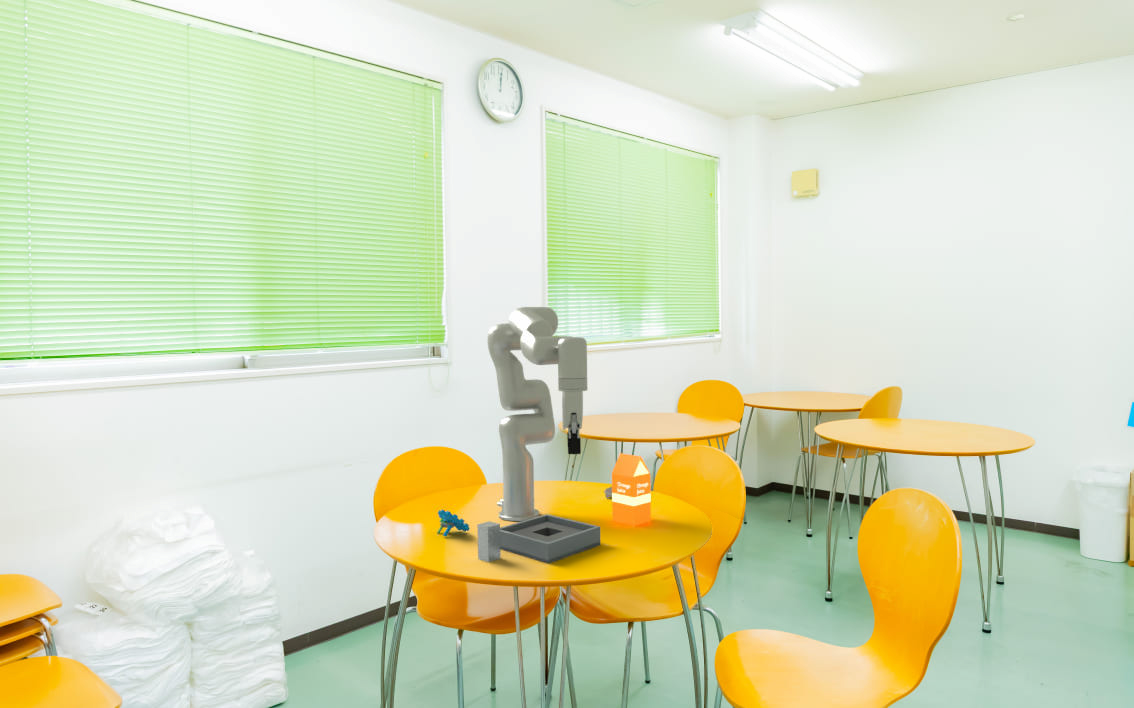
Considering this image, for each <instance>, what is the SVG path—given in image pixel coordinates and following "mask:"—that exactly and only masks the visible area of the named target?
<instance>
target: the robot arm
mask: <svg viewBox="0 0 1134 708" xmlns="http://www.w3.org/2000/svg"><path fill="white" fill-rule="evenodd" d="M558 327H559V318H558V315H557V313H556V311H555V310H554V309H553V308H551V307H548V306H521V307H519V308H516V309H514V310H513V311H512V312H511V313H510V315H509V318H508V322H507V323H500V324H496V325H493V326H492V327H491V328H490V329H489V331H488V332H487V348H488V352H489V355H490V357H491V360H492V362H493V365H494V368H495V373H496V380H497V381H496V382H497V387H498V394H499V395H498V397H499V402H500V405H501V408H502V409H503V410H504V411H508V412H509V411H511V412H517V411H519V412H520V411H530V410H532V411H533V412H534V413H520V414H519V413H518V414H510V415H506V416H505V417H504V418H502V419H501V420H500V422H499V425H498V434H499V439H500V444H501V451H502V452H501V453H502V483H503V485H502V486H503V487H502V488H503V489H502V490H503V491H502V492H503V498H501V499H500V500H499V501H497V502H496V505H497V507H501V510H500V511H499V512H498V517H499V519H501V520H504V521H510V522H521V521H525V520H528V519H532V518H535V517H539V516H540V511H539V509H536V508H535V474H534V472H535V471H534V470H535V469H534V468H535V467H534V465H535V463H534V457H533V455H532V454H531V452H530V451H529V450H528V449H527V447H526V446H530V445H537V444H538V445H540V444H547V443H550V442H551V441H553V439H554V438H555V434H556V425H555V417H554V411H553V404H552V397H551V392H550V389H549V386H548V385H547V383H546V382H545V381H544V380H542V379H535V378H534V379H526V378H525V374H524V366H523V364H522V362H521V361H520V360H519V358H518V357H517V356H516V355H515V354H514V353H513V352H511V351H521V353H522V355H523V356H524V358H525V359H527V361H528V362H531V364H534V365H536V366H547V365H548V366H549V365H550V366H551V365H557V370H558V371H557V372H558V373H557V374H558V375H557V378H558V380H557V384H558V385H557V386H558V392H562V395H561V396H562V398H561V400H562V401H561V404H562V405H561V409H562V411H561V412H562V417H561V418H562V429H563V430H564V431H566V429H567V430H568V432H567V433H566V434H567V439H566V440H567V454H568V455H581V453H582V451H581V450H582V448H581V444H582V443H581V437H580V430H581V429H582V428H583V416H584V392H586V391H588V346H587V345H588V344H587V340H586V339H585V338H583V337H581V336H580V337H579V336H575V337H574V336H570V335H565V336H564V335H562V336H561V335H560V336H558V335H556V336H555V333H556V332H557V330H558Z"/></svg>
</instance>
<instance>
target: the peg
mask: <svg viewBox="0 0 1134 708" xmlns="http://www.w3.org/2000/svg"><path fill="white" fill-rule="evenodd" d="M500 528H501V524H500V523H497V522H494V521H486V522H481V523H479V524H477V558H478V559H477V560H480V561H483V562H487V563H491V562H493V561H497V560H500V559H501V556H502V555H501V549H500Z"/></svg>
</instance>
